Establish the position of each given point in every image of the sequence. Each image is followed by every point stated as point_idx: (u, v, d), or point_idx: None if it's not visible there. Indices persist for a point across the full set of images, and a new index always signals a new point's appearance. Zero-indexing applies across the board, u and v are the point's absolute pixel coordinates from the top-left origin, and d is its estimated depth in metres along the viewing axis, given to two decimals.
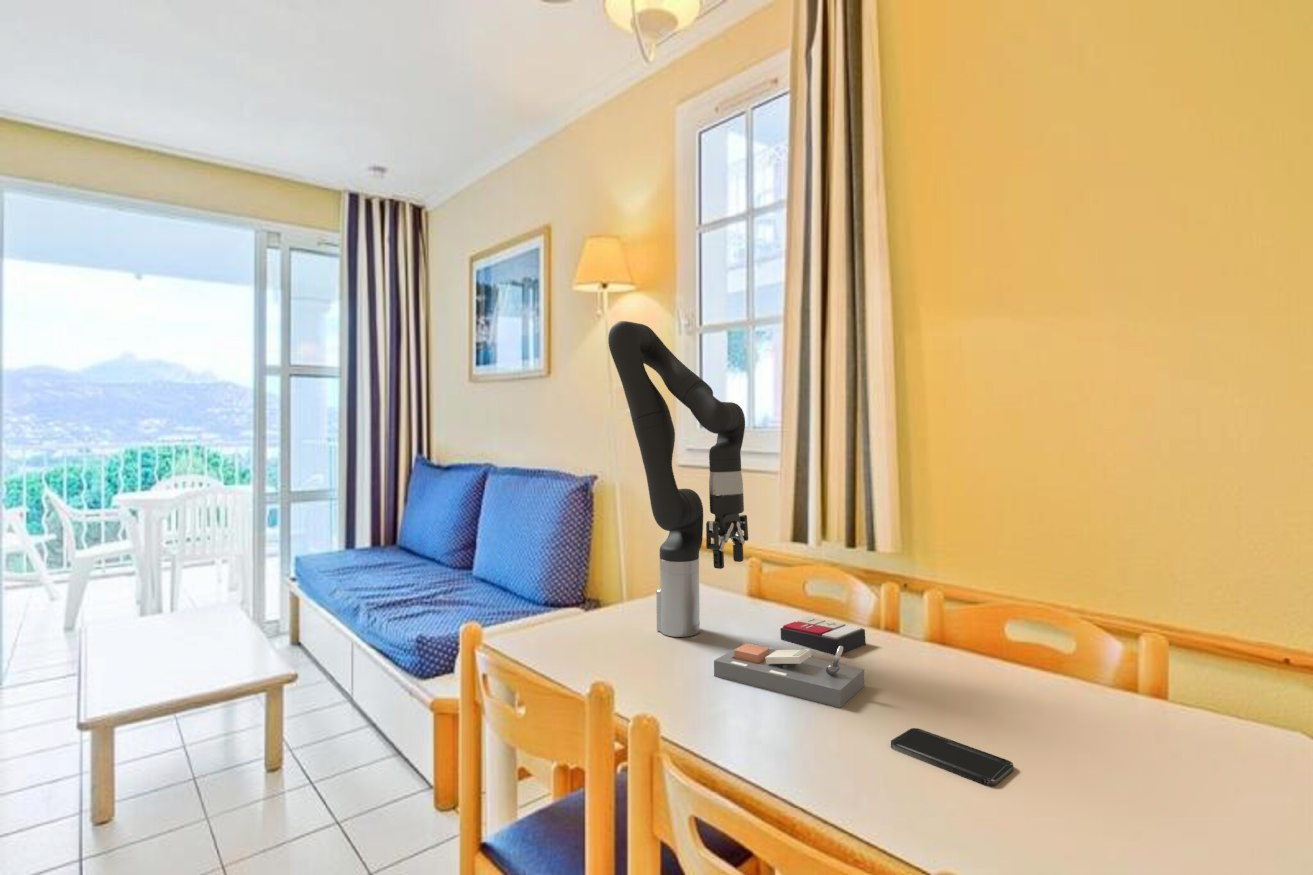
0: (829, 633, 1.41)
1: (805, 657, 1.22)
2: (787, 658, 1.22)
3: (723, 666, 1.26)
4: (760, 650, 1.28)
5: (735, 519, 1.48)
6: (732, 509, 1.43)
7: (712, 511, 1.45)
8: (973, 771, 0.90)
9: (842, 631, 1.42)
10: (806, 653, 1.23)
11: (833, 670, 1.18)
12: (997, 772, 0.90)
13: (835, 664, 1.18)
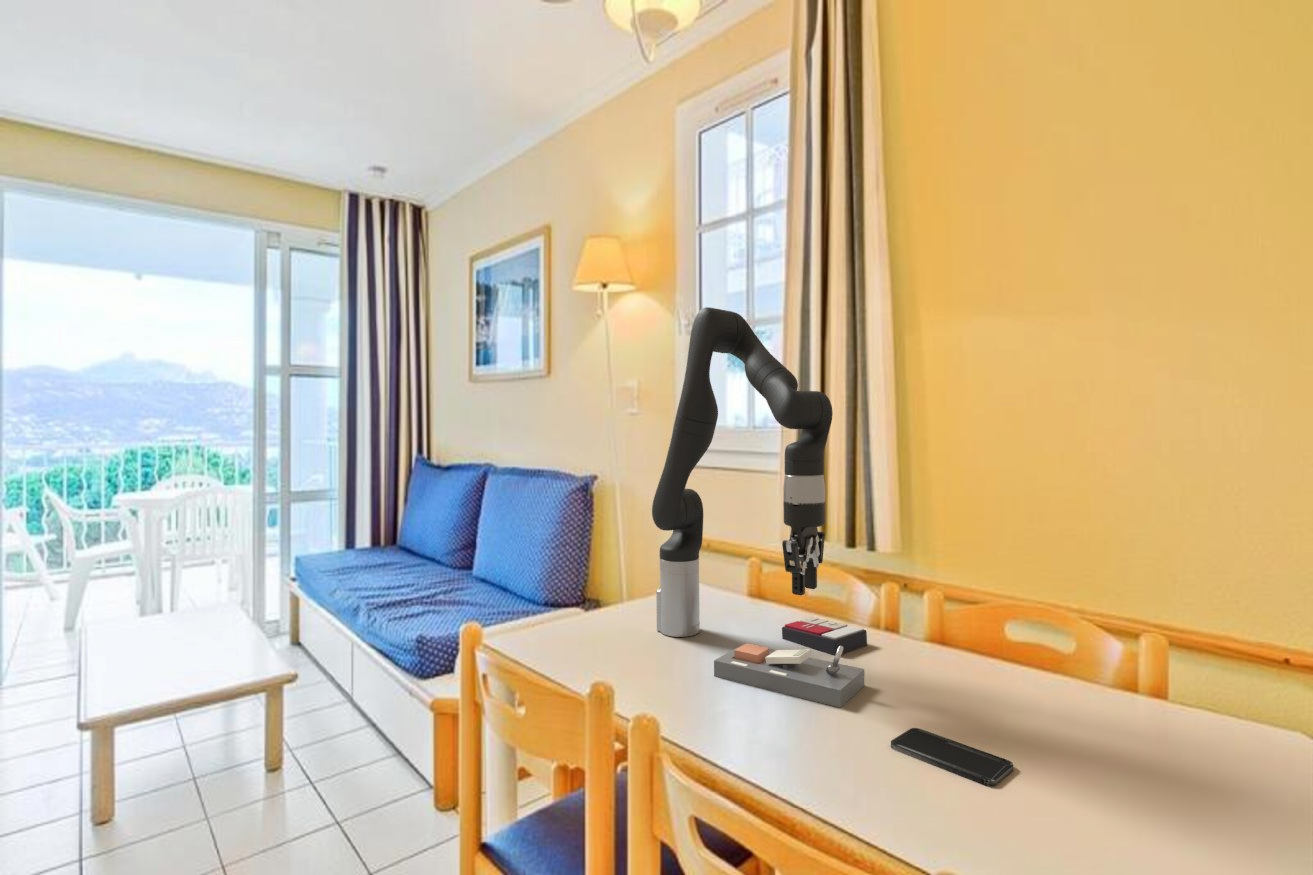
0: (829, 633, 1.41)
1: (805, 657, 1.22)
2: (787, 658, 1.22)
3: (723, 666, 1.26)
4: (760, 650, 1.28)
5: (813, 532, 1.23)
6: (813, 521, 1.18)
7: (787, 522, 1.20)
8: (973, 771, 0.90)
9: (842, 631, 1.42)
10: (806, 653, 1.23)
11: (833, 670, 1.18)
12: (997, 772, 0.90)
13: (835, 664, 1.18)
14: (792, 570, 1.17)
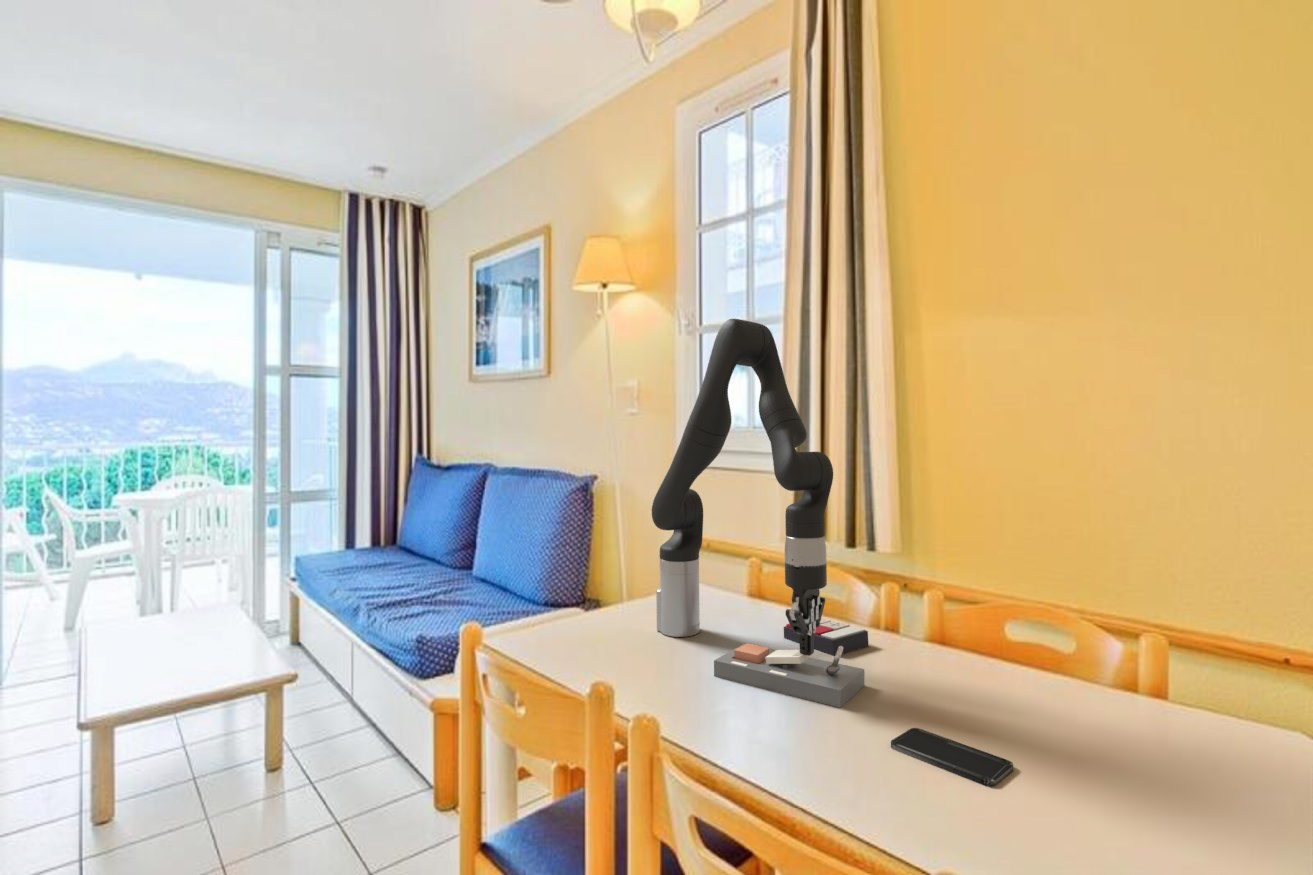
0: (828, 633, 1.41)
1: (805, 657, 1.22)
2: (787, 658, 1.22)
3: (723, 666, 1.26)
4: (760, 650, 1.28)
5: (815, 593, 1.23)
6: (814, 584, 1.18)
7: (789, 584, 1.20)
8: (973, 771, 0.90)
9: (843, 632, 1.42)
10: None
11: (833, 670, 1.18)
12: (997, 772, 0.90)
13: (835, 664, 1.18)
14: (800, 631, 1.19)
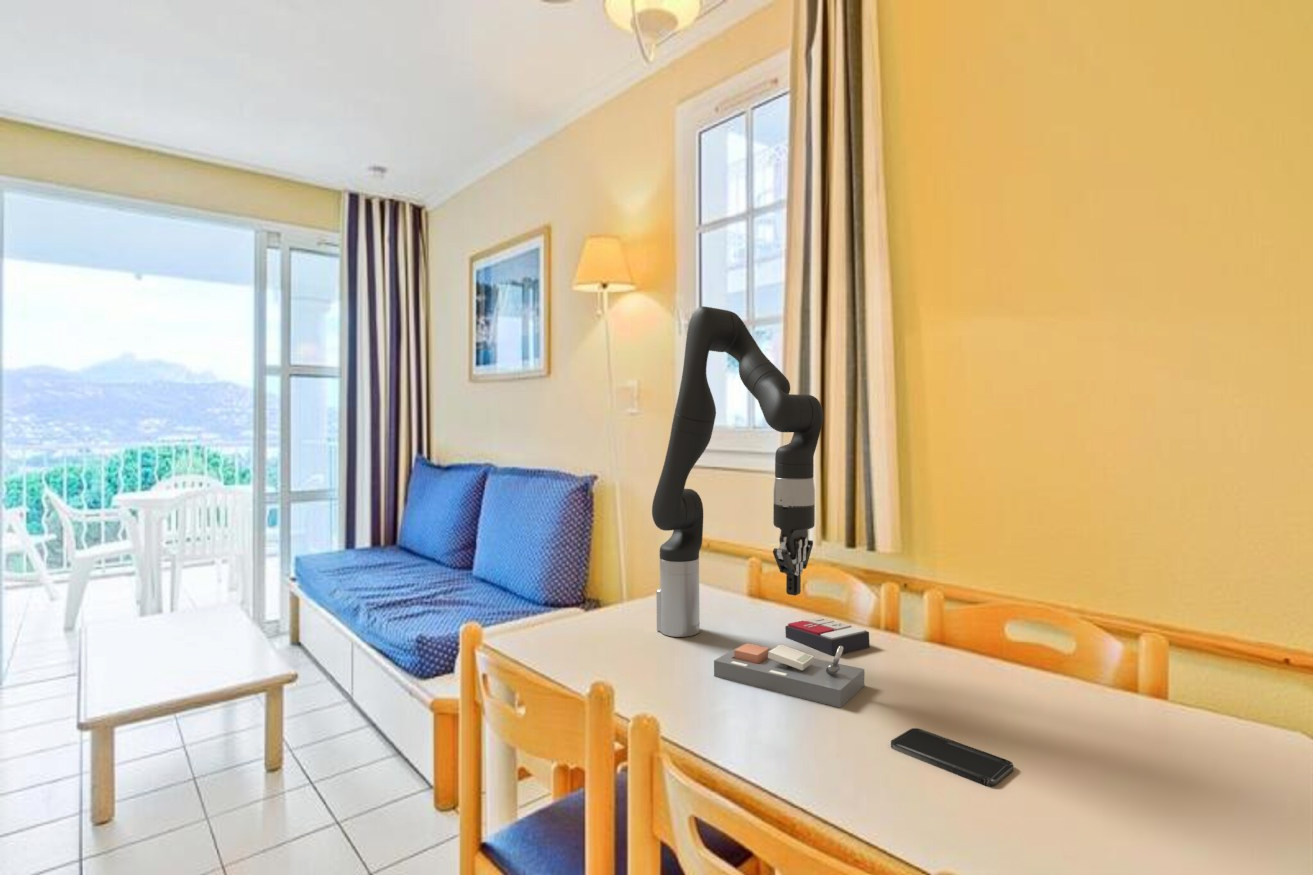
0: (828, 633, 1.41)
1: (808, 664, 1.22)
2: (790, 661, 1.21)
3: (723, 666, 1.26)
4: (760, 650, 1.28)
5: (803, 534, 1.24)
6: (802, 524, 1.20)
7: (777, 525, 1.22)
8: (973, 771, 0.90)
9: (843, 632, 1.42)
10: (810, 660, 1.22)
11: (833, 670, 1.18)
12: (997, 772, 0.90)
13: (835, 664, 1.18)
14: (787, 571, 1.21)
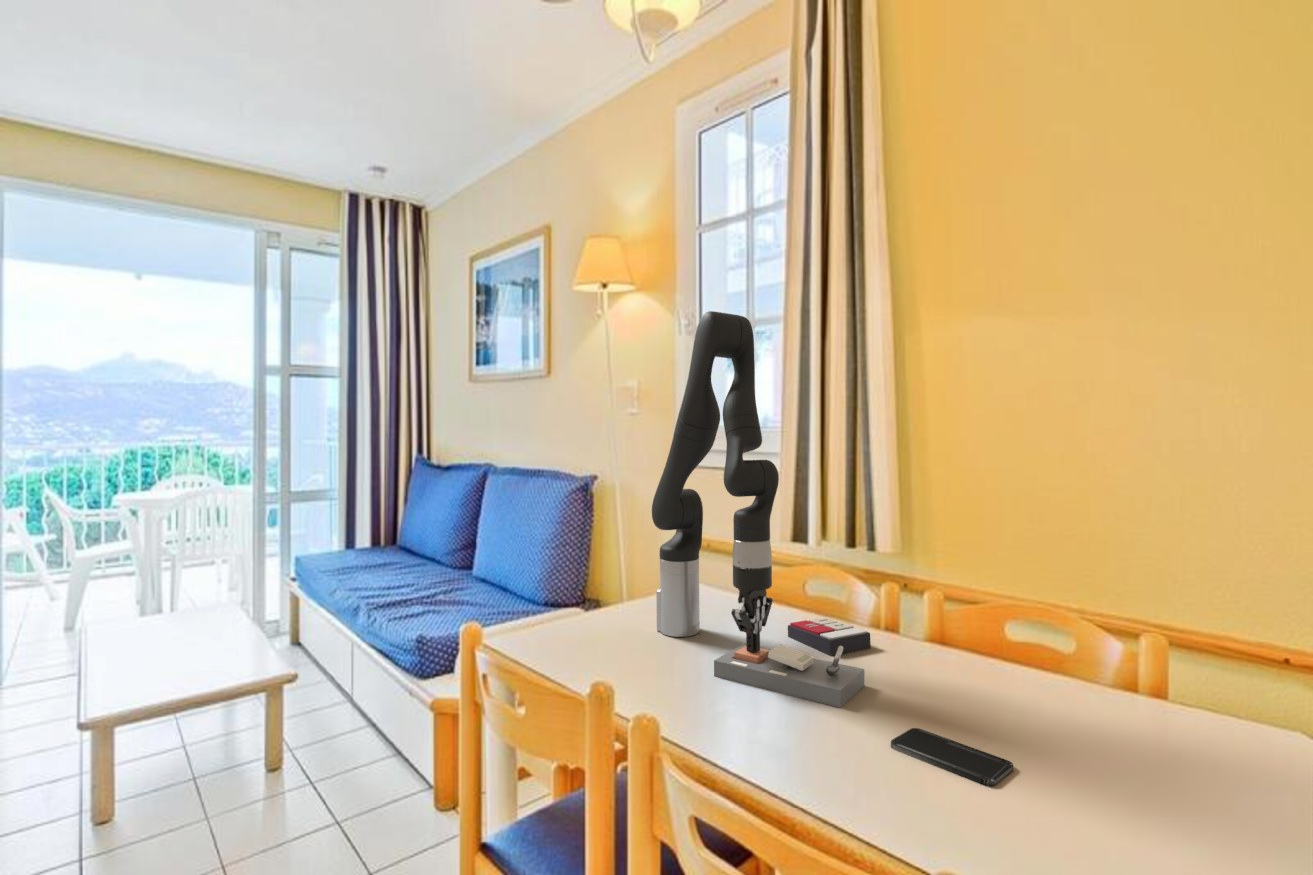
0: (828, 633, 1.41)
1: (808, 664, 1.22)
2: (791, 661, 1.21)
3: (723, 666, 1.26)
4: (760, 652, 1.28)
5: (761, 593, 1.29)
6: (759, 585, 1.25)
7: (736, 585, 1.27)
8: (973, 771, 0.90)
9: (843, 632, 1.41)
10: (810, 660, 1.22)
11: (833, 670, 1.18)
12: (997, 772, 0.90)
13: (835, 664, 1.18)
14: (745, 630, 1.26)
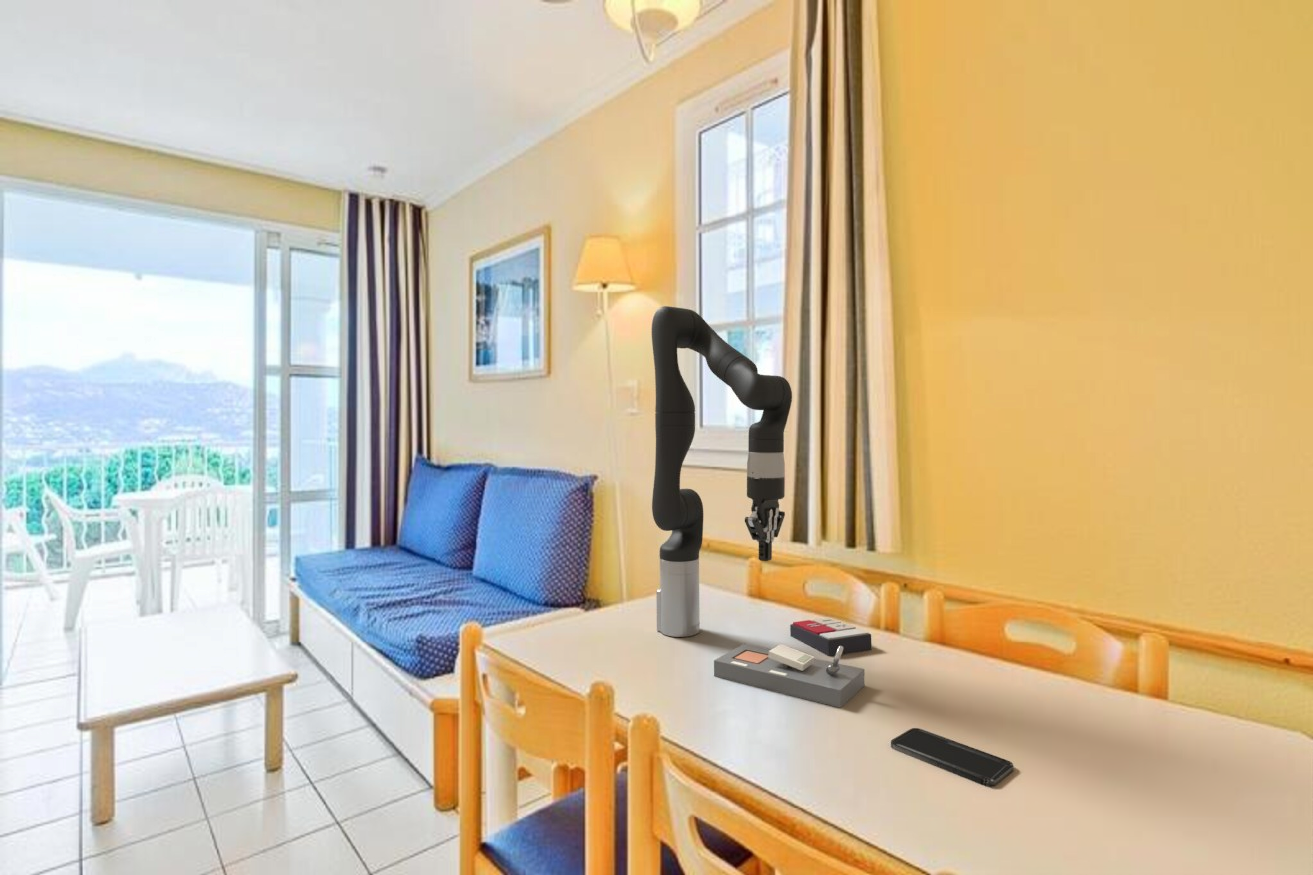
0: (828, 633, 1.41)
1: (808, 664, 1.22)
2: (791, 661, 1.21)
3: (723, 666, 1.26)
4: (760, 658, 1.28)
5: (774, 505, 1.34)
6: (772, 494, 1.29)
7: (749, 495, 1.31)
8: (973, 771, 0.90)
9: (843, 633, 1.41)
10: (810, 660, 1.22)
11: (833, 670, 1.18)
12: (997, 772, 0.90)
13: (835, 664, 1.18)
14: (758, 538, 1.31)
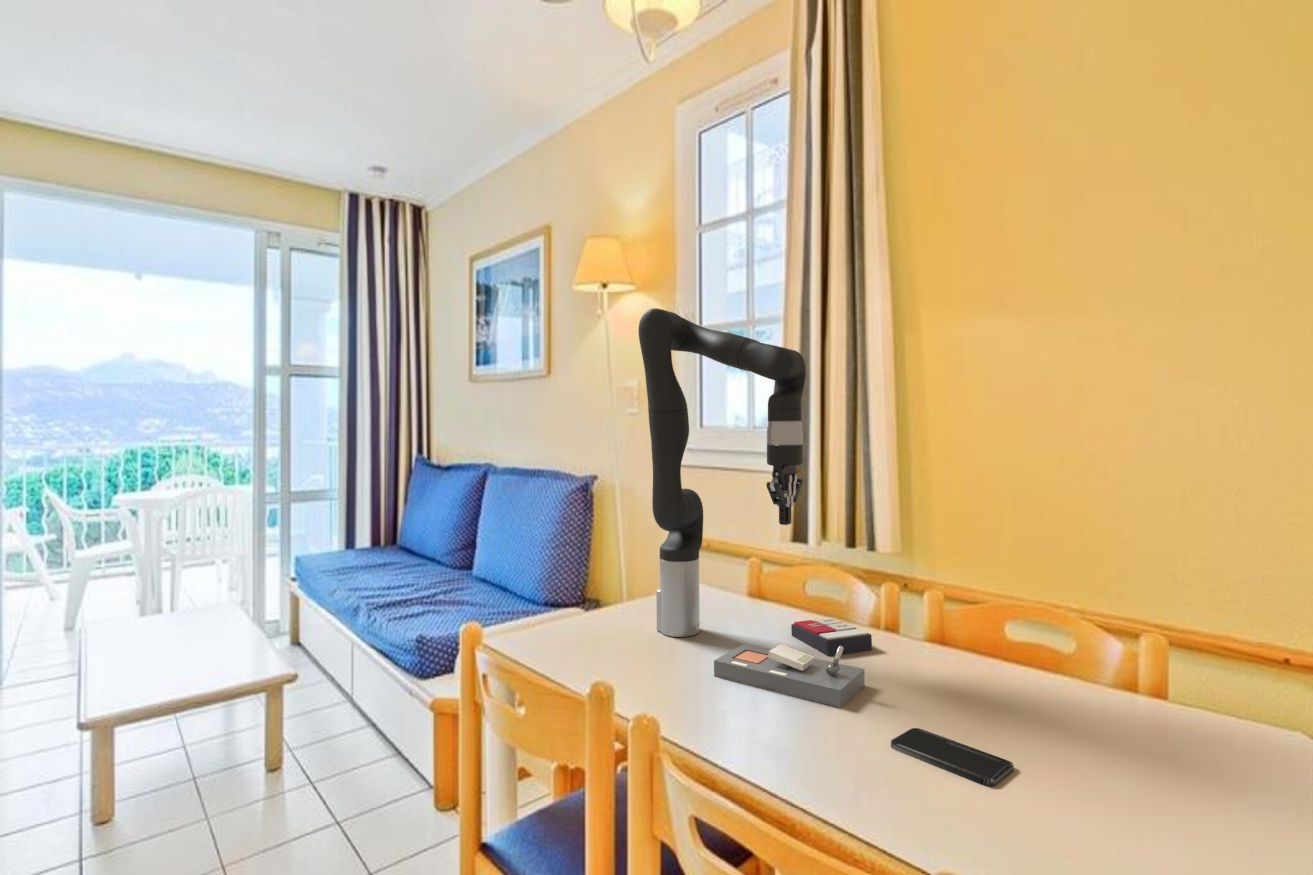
0: (827, 633, 1.41)
1: (808, 664, 1.22)
2: (791, 661, 1.21)
3: (723, 666, 1.26)
4: (760, 658, 1.28)
5: (793, 472, 1.41)
6: (792, 460, 1.37)
7: (770, 462, 1.39)
8: (972, 771, 0.90)
9: (843, 633, 1.41)
10: (810, 660, 1.22)
11: (833, 670, 1.18)
12: (997, 772, 0.90)
13: (835, 664, 1.18)
14: (779, 502, 1.38)
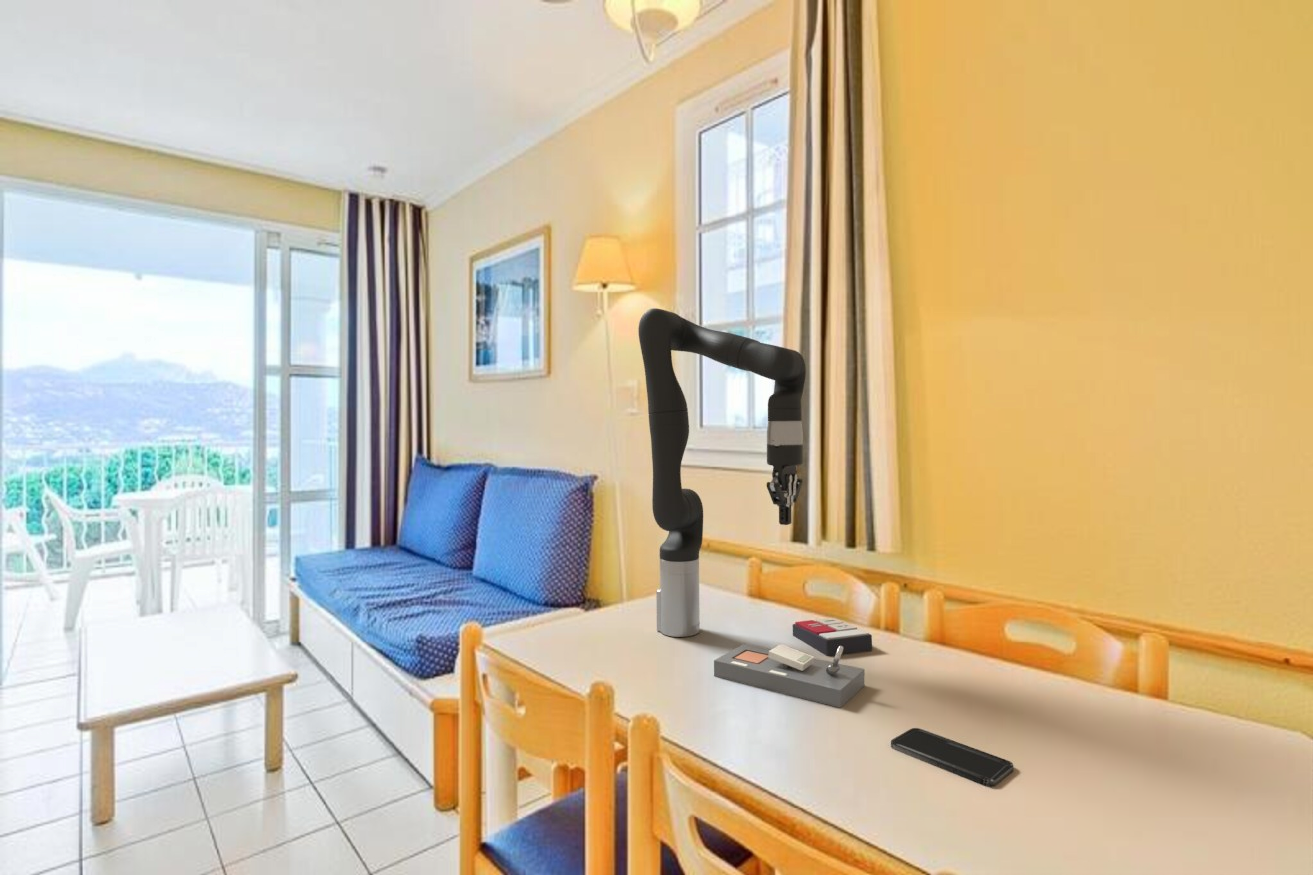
0: (827, 633, 1.41)
1: (808, 664, 1.22)
2: (791, 661, 1.21)
3: (723, 666, 1.26)
4: (760, 658, 1.28)
5: (793, 472, 1.41)
6: (792, 460, 1.37)
7: (770, 462, 1.39)
8: (972, 771, 0.90)
9: (843, 633, 1.41)
10: (810, 660, 1.22)
11: (833, 670, 1.18)
12: (997, 772, 0.90)
13: (835, 664, 1.18)
14: (779, 502, 1.38)
